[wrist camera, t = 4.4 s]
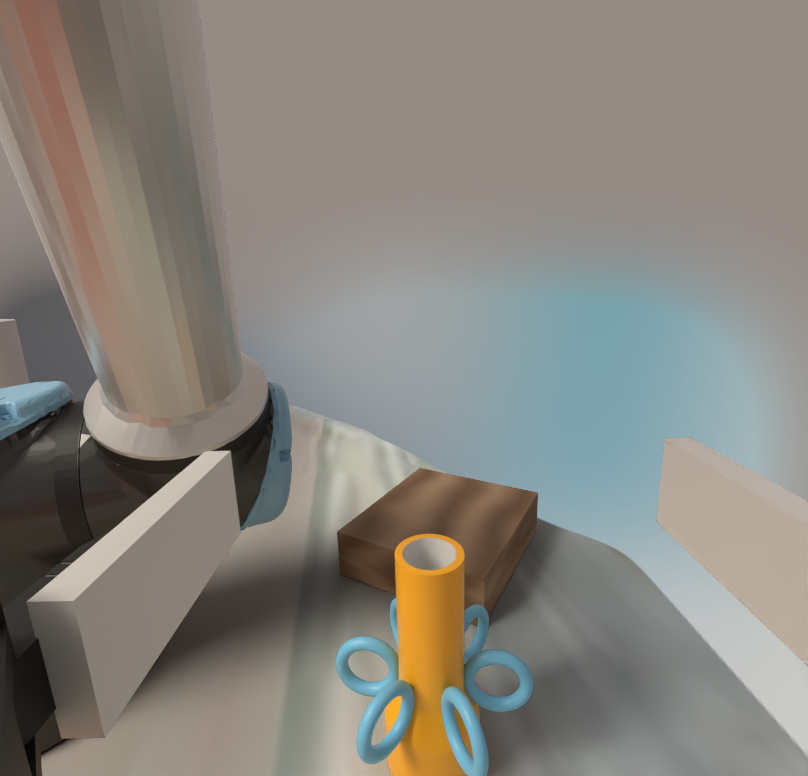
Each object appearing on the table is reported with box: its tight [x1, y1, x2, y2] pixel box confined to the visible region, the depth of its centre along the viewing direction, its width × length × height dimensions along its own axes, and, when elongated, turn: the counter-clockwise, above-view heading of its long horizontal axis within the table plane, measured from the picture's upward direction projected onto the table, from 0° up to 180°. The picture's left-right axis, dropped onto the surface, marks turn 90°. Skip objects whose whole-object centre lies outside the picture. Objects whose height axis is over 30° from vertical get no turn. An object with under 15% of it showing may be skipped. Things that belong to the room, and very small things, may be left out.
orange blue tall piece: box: [336, 534, 533, 776], centre depth 28 cm, size 12×10×15 cm
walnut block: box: [337, 468, 538, 626], centre depth 51 cm, size 16×18×5 cm
